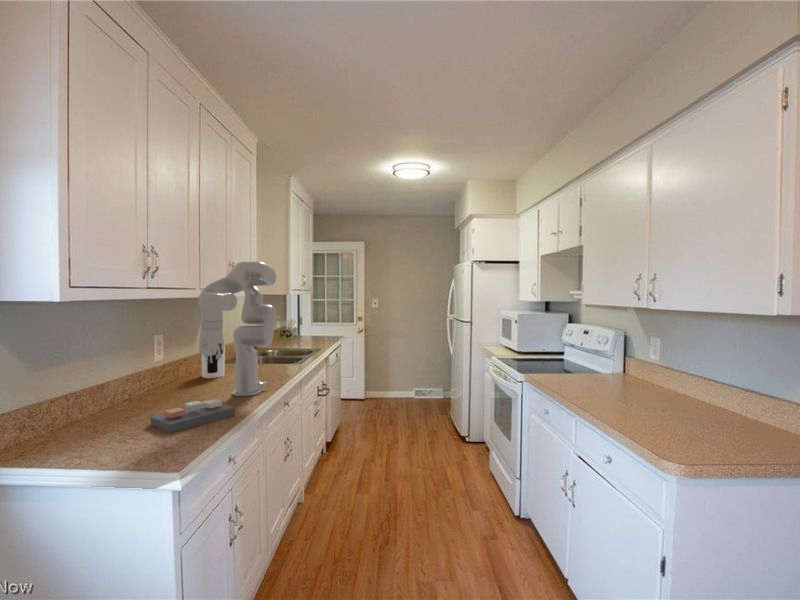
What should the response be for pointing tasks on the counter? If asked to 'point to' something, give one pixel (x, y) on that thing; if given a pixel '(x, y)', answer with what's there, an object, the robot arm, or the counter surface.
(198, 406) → the sage key
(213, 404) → the cream key
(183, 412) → the terracotta key
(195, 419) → the keypad
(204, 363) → the bottle
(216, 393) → the counter surface
